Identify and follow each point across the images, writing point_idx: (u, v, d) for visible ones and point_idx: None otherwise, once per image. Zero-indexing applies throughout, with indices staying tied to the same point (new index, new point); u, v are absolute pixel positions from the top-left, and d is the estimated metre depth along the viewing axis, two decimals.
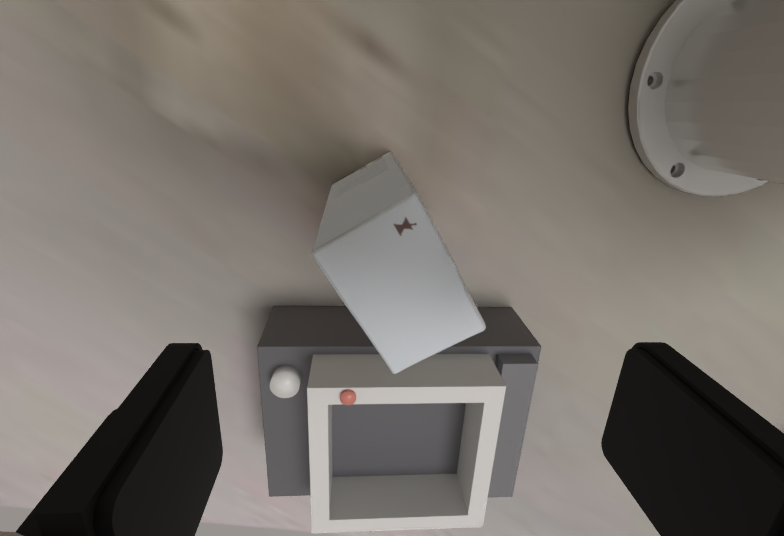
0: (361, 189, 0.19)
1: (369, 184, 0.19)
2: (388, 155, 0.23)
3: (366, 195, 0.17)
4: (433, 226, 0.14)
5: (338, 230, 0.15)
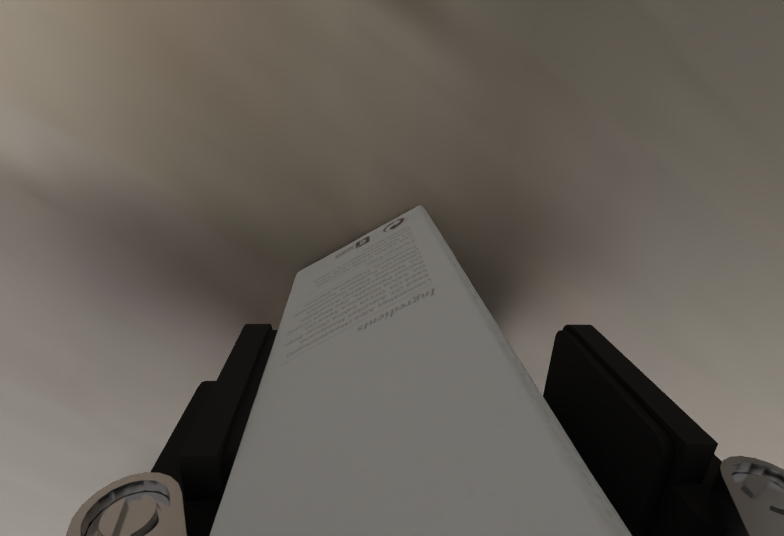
0: (358, 378, 0.06)
1: (384, 362, 0.06)
2: (419, 220, 0.10)
3: (379, 472, 0.04)
4: None
5: None
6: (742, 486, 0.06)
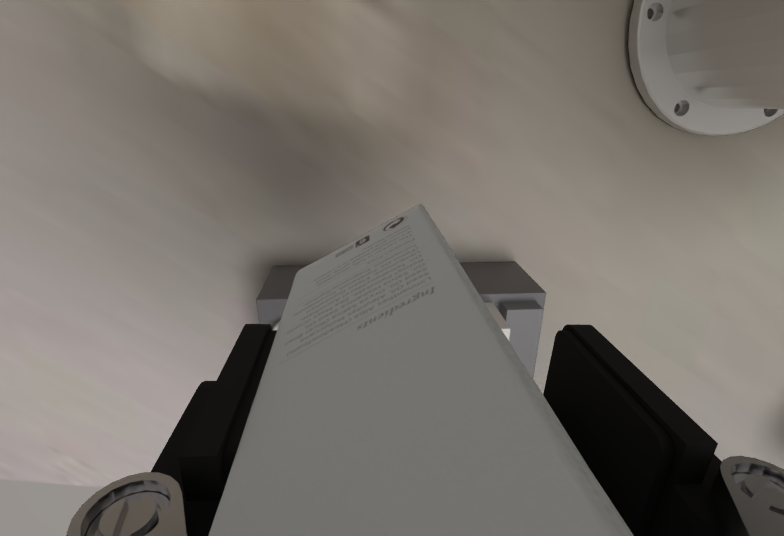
0: (358, 376, 0.06)
1: (384, 360, 0.06)
2: (419, 219, 0.10)
3: (378, 470, 0.04)
4: None
5: None
6: (741, 486, 0.06)
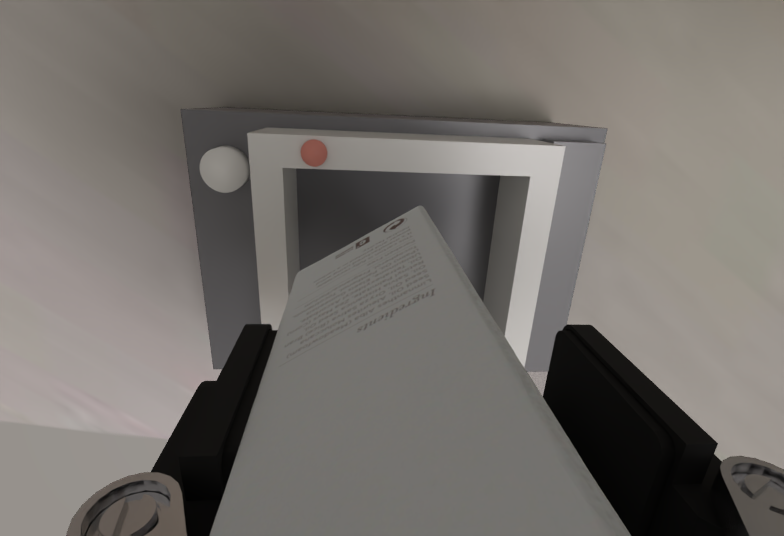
0: (358, 379, 0.06)
1: (384, 363, 0.06)
2: (419, 220, 0.10)
3: (379, 474, 0.04)
4: None
5: None
6: (742, 486, 0.06)
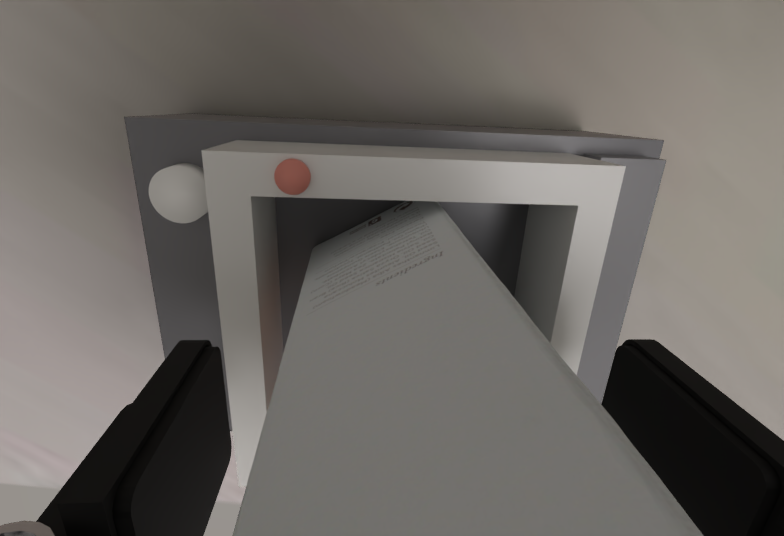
0: (380, 316, 0.07)
1: (402, 303, 0.07)
2: (427, 202, 0.12)
3: (402, 371, 0.06)
4: None
5: None
6: None
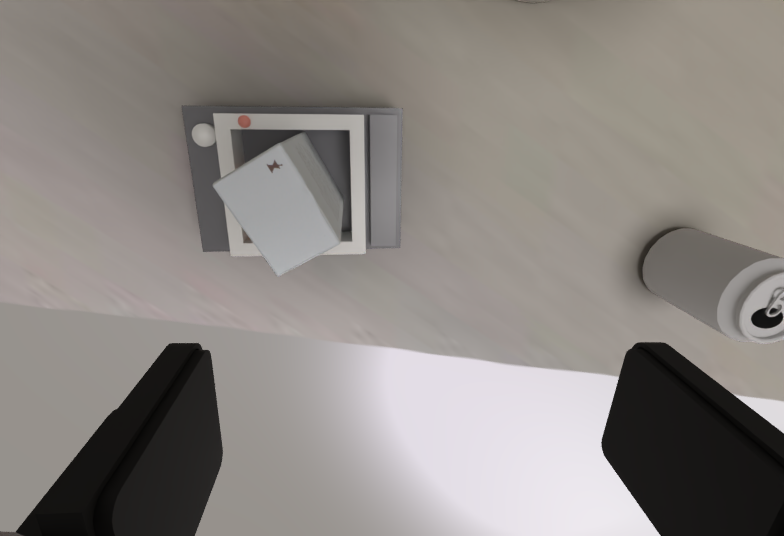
0: None
1: None
2: None
3: None
4: (295, 167, 0.21)
5: None
6: None
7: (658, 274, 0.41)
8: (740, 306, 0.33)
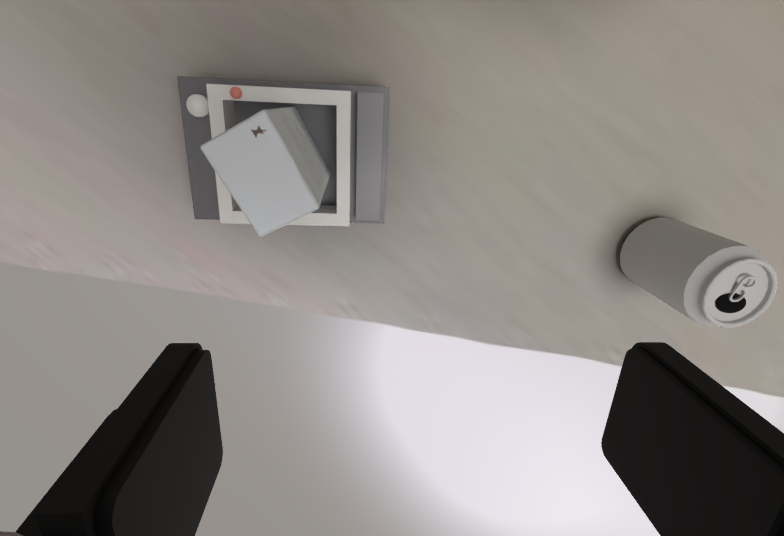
0: None
1: None
2: None
3: None
4: (277, 133, 0.23)
5: None
6: None
7: (634, 260, 0.42)
8: (705, 290, 0.35)
